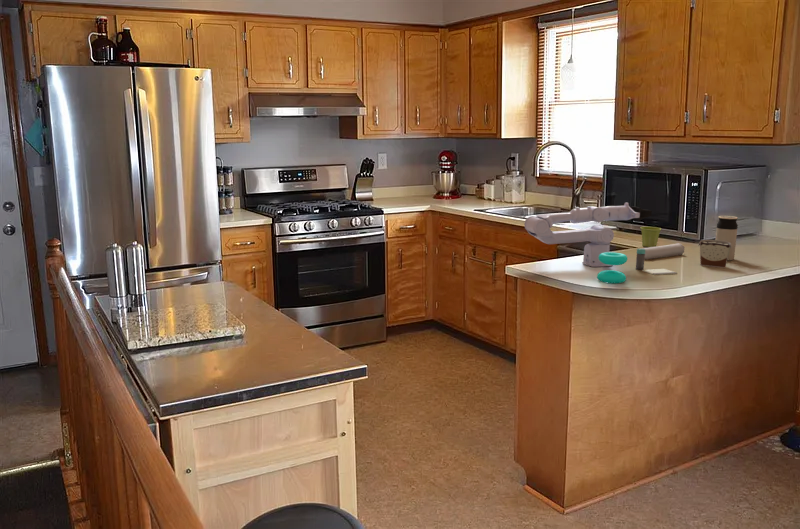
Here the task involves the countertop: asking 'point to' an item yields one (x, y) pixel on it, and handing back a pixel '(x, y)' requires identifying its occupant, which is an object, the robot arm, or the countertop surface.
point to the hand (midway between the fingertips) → (645, 211)
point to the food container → (714, 253)
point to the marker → (640, 259)
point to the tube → (664, 251)
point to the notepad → (659, 271)
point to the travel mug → (727, 232)
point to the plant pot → (650, 236)
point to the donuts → (612, 275)
